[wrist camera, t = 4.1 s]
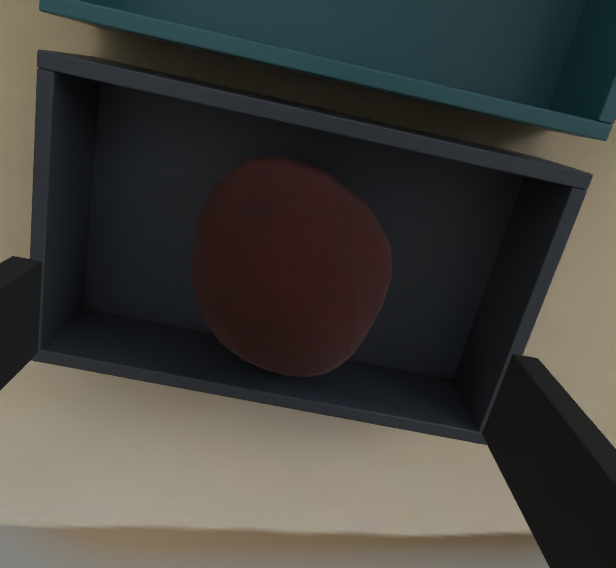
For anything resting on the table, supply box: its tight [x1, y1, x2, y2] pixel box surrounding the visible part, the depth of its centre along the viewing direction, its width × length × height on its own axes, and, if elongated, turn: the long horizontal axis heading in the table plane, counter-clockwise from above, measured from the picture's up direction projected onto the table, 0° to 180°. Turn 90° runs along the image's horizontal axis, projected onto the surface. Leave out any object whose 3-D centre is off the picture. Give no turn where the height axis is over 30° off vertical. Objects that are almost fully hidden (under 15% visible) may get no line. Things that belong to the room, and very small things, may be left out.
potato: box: [190, 156, 393, 377], centre depth 22 cm, size 8×9×8 cm
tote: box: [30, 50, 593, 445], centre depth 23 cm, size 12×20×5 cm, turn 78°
